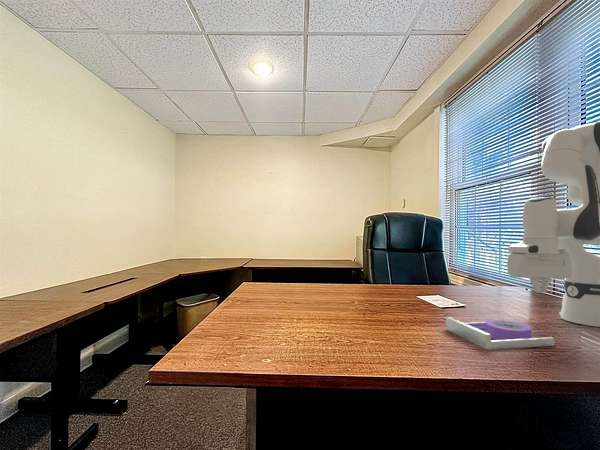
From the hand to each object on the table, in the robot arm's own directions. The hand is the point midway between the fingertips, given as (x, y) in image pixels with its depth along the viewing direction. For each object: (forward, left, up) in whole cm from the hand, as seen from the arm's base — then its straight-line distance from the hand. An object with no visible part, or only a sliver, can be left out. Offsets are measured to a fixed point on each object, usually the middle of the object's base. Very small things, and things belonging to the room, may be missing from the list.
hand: (540, 292), depth 95 cm
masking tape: (+11, 0, -14) cm, 18 cm away
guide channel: (+14, 0, -13) cm, 20 cm away
